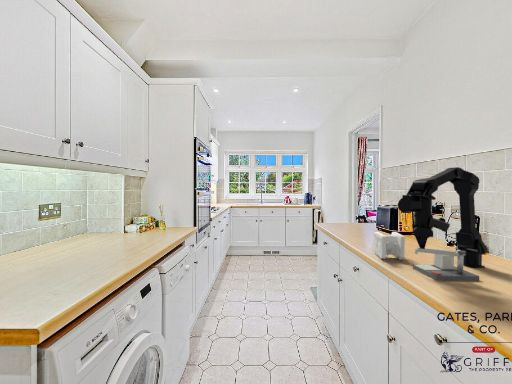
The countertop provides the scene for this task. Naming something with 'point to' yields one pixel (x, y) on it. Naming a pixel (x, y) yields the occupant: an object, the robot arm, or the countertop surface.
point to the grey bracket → (458, 253)
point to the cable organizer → (389, 245)
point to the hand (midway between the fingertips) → (422, 250)
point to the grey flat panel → (444, 273)
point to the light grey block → (444, 261)
